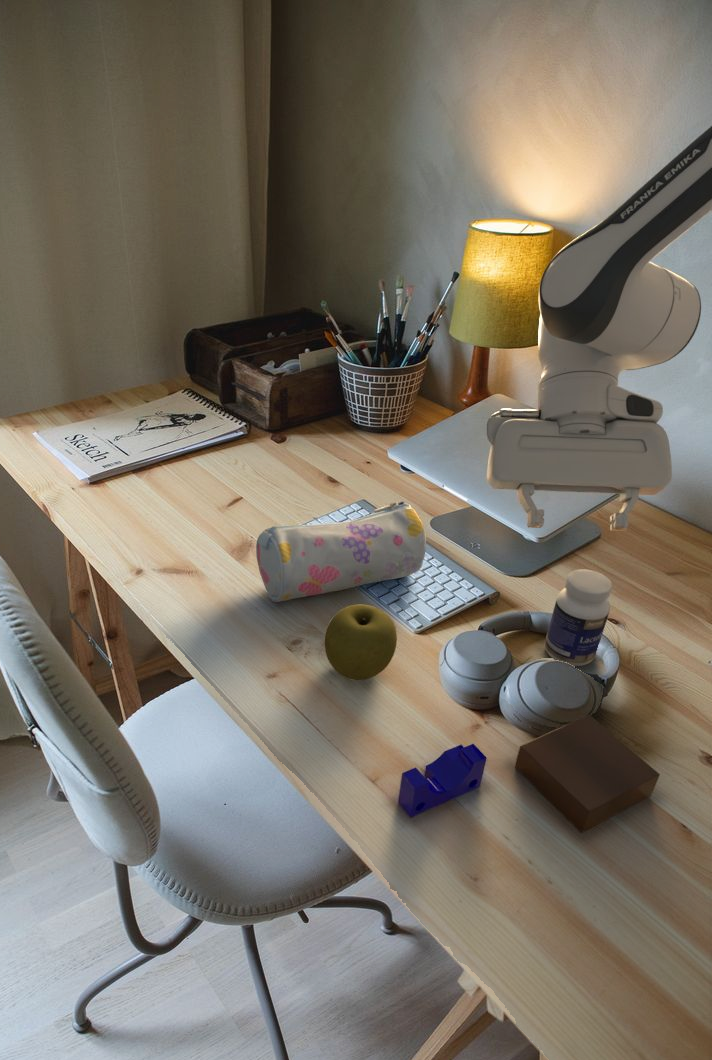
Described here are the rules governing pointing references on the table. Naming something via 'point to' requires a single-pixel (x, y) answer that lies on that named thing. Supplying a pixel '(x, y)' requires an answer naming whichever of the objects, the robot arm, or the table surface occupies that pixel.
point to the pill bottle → (579, 618)
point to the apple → (360, 641)
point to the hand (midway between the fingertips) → (577, 528)
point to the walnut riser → (586, 772)
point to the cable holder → (442, 779)
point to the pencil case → (341, 553)
